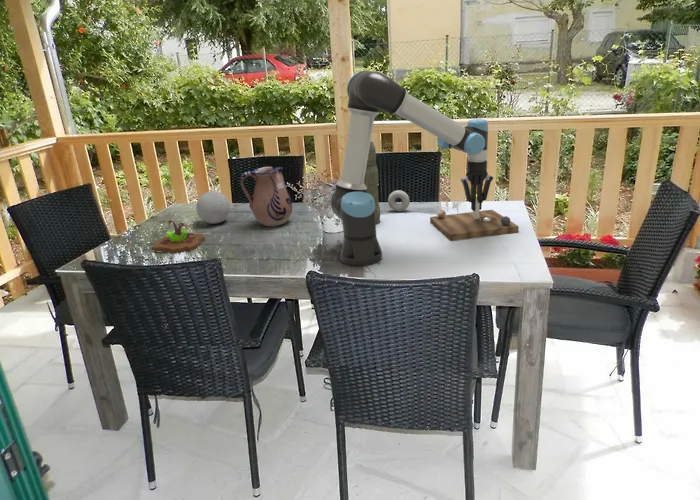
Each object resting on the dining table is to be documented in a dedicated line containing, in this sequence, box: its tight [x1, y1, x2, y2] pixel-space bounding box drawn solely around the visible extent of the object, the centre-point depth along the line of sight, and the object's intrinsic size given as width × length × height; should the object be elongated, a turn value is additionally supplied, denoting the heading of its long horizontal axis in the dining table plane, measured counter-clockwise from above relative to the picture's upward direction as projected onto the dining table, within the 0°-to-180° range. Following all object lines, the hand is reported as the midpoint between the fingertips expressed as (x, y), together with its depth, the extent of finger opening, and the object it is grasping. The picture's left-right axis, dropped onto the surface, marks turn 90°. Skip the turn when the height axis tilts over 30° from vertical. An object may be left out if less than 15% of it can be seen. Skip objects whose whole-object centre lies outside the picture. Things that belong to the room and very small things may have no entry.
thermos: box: [364, 141, 381, 225], centre depth 221 cm, size 9×12×35 cm
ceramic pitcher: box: [239, 166, 293, 227], centre depth 230 cm, size 18×21×25 cm
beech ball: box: [436, 209, 447, 218], centre depth 218 cm, size 4×4×4 cm
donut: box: [387, 189, 410, 212], centre depth 238 cm, size 10×4×10 cm, turn 77°
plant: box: [151, 220, 206, 254], centre depth 215 cm, size 20×20×11 cm
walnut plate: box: [429, 209, 520, 242], centre depth 212 cm, size 28×24×2 cm
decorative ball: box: [196, 190, 231, 225], centre depth 239 cm, size 15×15×15 cm
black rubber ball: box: [501, 216, 511, 225], centre depth 204 cm, size 4×4×4 cm
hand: (476, 217), depth 212 cm, fingers closed
